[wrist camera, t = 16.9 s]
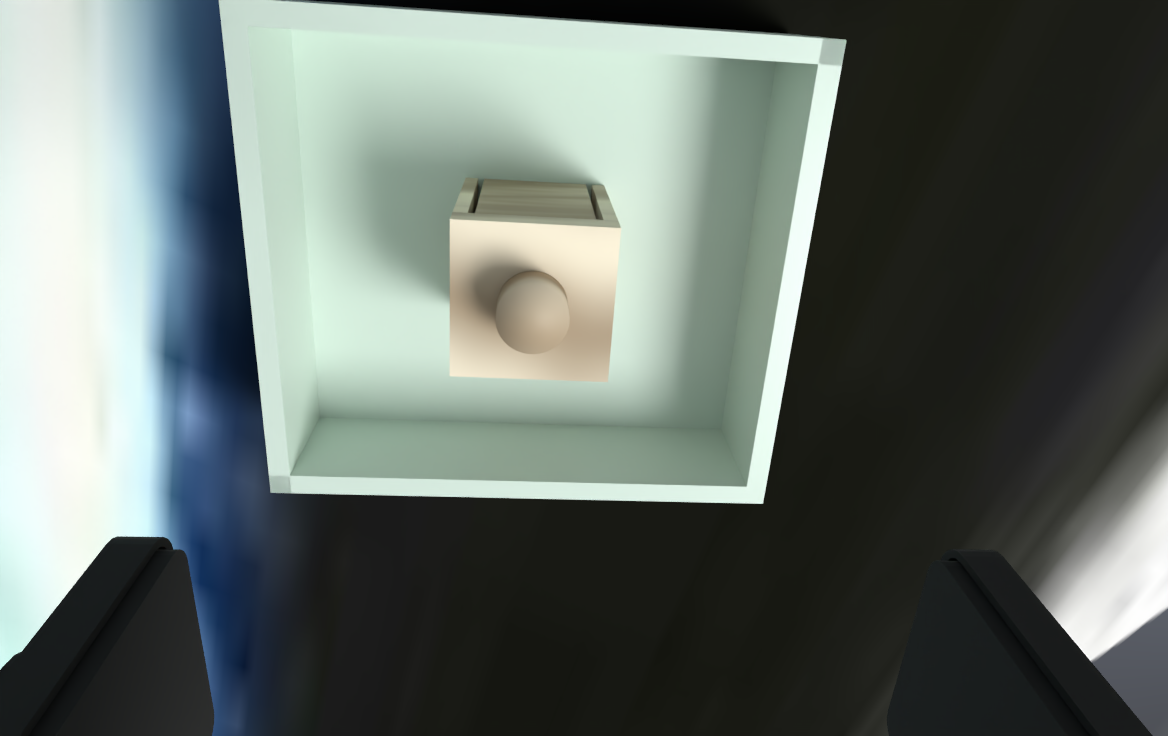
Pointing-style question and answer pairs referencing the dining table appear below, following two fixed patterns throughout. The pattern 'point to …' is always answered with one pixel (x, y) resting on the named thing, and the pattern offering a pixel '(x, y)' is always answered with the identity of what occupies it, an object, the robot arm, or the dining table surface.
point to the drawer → (532, 281)
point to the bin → (433, 183)
